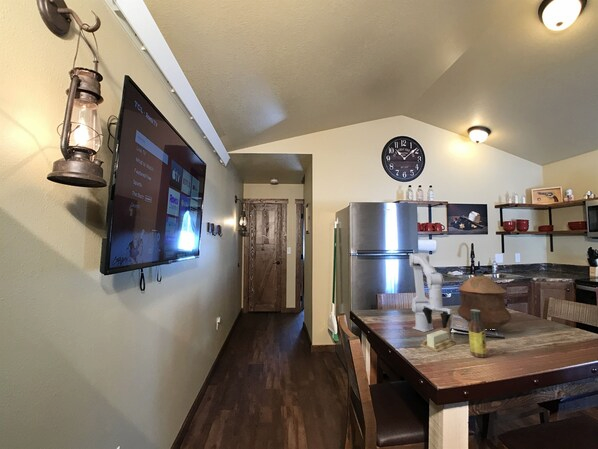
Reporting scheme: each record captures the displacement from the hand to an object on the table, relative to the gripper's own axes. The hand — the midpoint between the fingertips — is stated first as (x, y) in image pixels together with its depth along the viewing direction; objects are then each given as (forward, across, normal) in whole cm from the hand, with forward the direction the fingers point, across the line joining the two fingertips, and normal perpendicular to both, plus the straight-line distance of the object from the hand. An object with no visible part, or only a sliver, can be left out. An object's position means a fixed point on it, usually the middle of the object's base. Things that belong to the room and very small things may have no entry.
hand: (436, 325), depth 128 cm
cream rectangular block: (+9, 0, 0) cm, 9 cm away
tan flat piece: (+10, 0, 0) cm, 10 cm away
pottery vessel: (+10, +1, +44) cm, 46 cm away
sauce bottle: (+10, +16, +4) cm, 19 cm away
